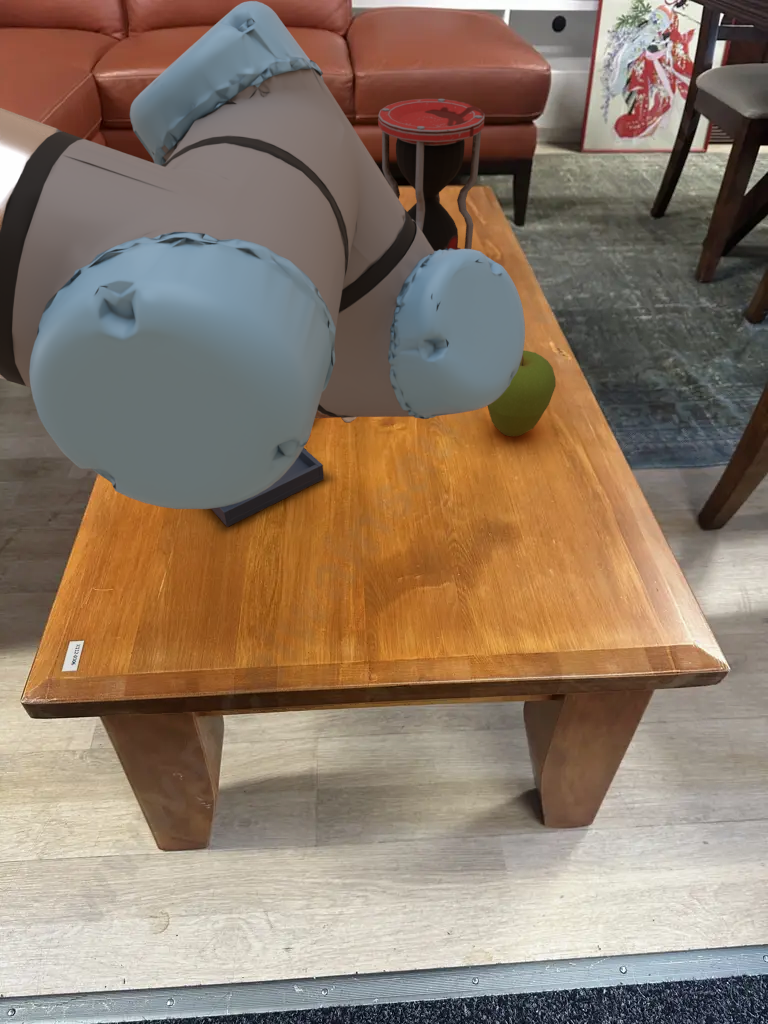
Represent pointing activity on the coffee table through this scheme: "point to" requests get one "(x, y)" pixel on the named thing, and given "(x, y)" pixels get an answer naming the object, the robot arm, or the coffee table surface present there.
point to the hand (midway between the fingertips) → (152, 378)
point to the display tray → (276, 489)
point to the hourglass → (432, 160)
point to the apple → (524, 396)
